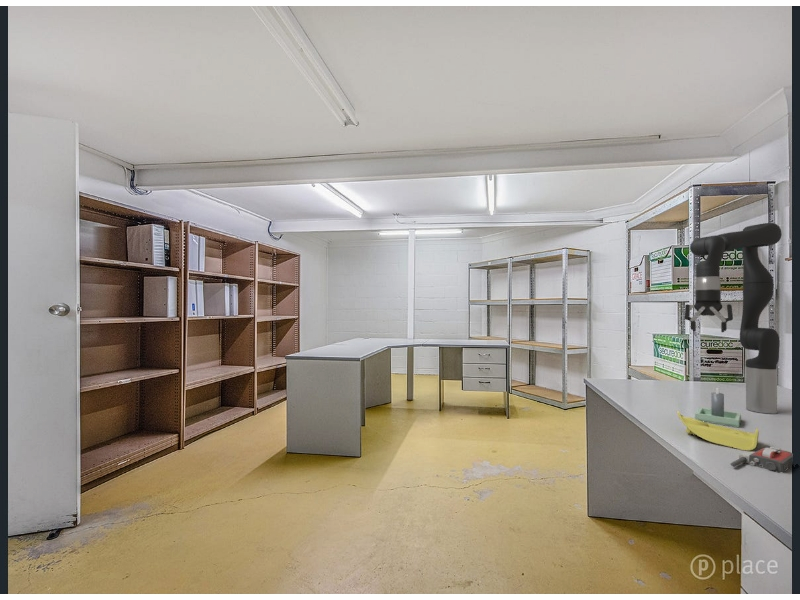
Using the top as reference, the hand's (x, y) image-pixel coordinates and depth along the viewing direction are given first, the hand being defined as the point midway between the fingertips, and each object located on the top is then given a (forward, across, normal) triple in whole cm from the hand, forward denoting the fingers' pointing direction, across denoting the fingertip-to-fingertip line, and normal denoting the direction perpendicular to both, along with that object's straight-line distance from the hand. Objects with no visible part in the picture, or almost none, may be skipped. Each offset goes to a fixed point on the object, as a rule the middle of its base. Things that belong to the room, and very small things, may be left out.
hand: (708, 331), depth 148 cm
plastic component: (+32, -5, +31) cm, 45 cm away
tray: (+32, -3, +4) cm, 32 cm away
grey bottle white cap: (+31, -3, +4) cm, 32 cm away
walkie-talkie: (+33, -16, +48) cm, 60 cm away
